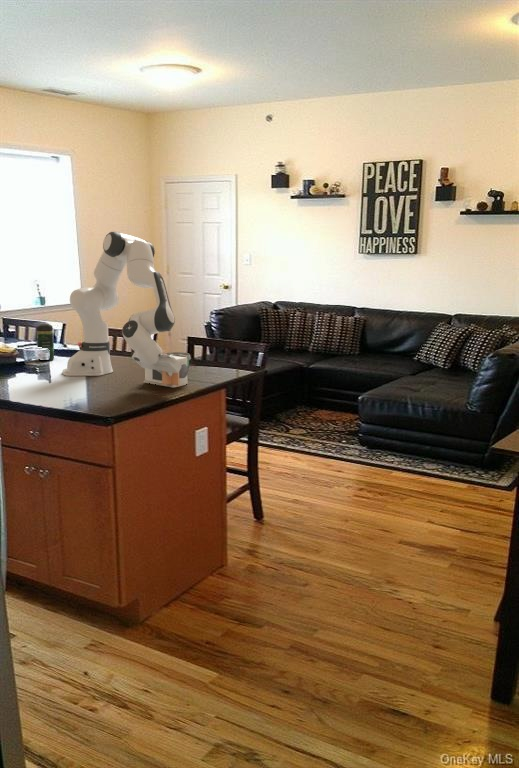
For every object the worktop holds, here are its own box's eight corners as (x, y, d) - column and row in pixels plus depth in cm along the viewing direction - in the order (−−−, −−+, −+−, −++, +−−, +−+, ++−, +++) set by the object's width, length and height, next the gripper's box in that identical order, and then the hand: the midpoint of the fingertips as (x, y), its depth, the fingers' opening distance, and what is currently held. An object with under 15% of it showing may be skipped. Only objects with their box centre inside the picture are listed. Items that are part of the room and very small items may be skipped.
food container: (195, 375, 296) (195, 353, 294) (189, 377, 291) (188, 355, 289) (173, 372, 301) (172, 351, 299) (165, 374, 296) (165, 353, 294)
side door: (156, 384, 266) (155, 364, 264) (164, 382, 270) (163, 362, 268) (171, 387, 261) (171, 366, 260) (179, 385, 265) (179, 365, 263)
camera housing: (143, 383, 276) (143, 356, 274) (159, 379, 284) (159, 353, 282) (174, 388, 266) (174, 361, 264) (190, 384, 274) (190, 357, 272)
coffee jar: (54, 361, 325) (52, 324, 322) (38, 361, 323) (36, 324, 319) (54, 358, 334) (52, 322, 331) (38, 358, 332) (36, 322, 328)
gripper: (174, 349, 251) (190, 371, 260) (136, 344, 262) (153, 365, 272) (166, 362, 248) (183, 383, 258) (128, 357, 259) (146, 377, 269)
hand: (167, 374), depth 265 cm, fingers closed on side door, 2 cm apart
